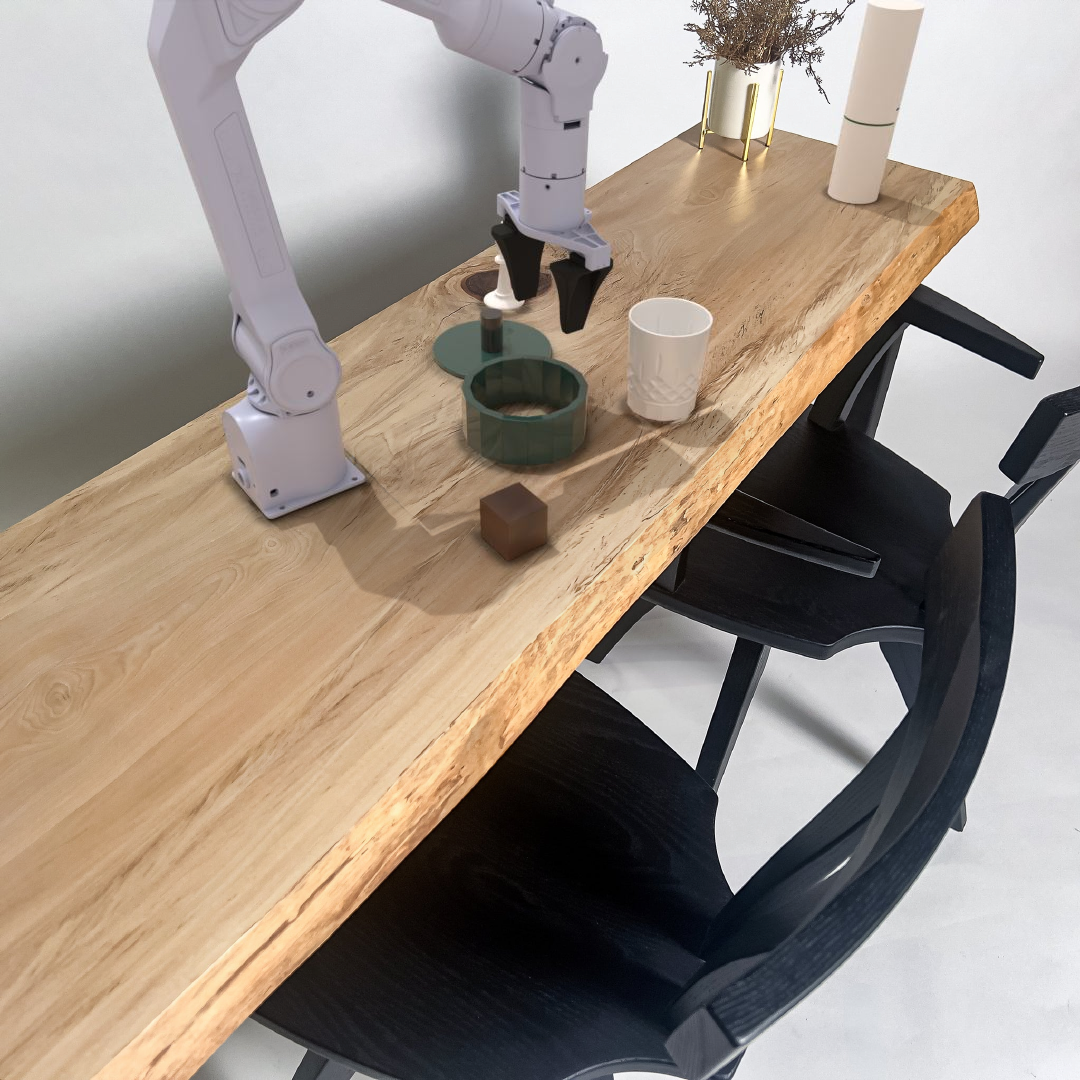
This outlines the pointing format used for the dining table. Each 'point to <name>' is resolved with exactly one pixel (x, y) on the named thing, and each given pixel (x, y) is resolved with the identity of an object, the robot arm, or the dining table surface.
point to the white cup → (666, 357)
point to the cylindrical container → (874, 98)
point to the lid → (486, 342)
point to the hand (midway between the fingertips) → (548, 313)
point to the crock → (518, 434)
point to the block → (513, 521)
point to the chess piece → (502, 289)
